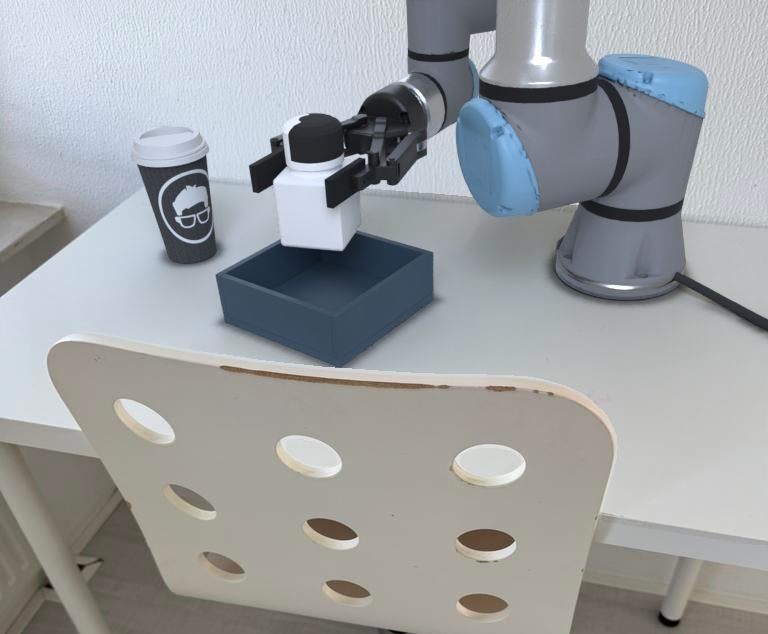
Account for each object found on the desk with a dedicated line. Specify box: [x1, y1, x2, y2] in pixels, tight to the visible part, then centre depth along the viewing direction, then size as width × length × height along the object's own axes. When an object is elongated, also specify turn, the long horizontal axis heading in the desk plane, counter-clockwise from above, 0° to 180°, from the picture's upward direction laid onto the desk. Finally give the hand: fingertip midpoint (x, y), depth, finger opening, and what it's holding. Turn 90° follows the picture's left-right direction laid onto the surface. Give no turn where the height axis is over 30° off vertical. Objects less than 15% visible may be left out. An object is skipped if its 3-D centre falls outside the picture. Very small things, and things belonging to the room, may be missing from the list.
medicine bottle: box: [272, 112, 362, 251], centre depth 80 cm, size 7×7×12 cm
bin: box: [214, 229, 434, 368], centre depth 89 cm, size 18×18×6 cm
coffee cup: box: [130, 124, 218, 264], centre depth 99 cm, size 10×10×15 cm
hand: (290, 186), depth 77 cm, fingers closed on medicine bottle, 8 cm apart
